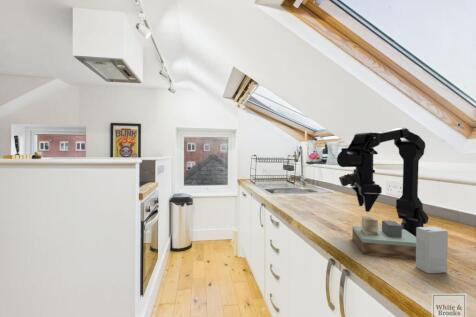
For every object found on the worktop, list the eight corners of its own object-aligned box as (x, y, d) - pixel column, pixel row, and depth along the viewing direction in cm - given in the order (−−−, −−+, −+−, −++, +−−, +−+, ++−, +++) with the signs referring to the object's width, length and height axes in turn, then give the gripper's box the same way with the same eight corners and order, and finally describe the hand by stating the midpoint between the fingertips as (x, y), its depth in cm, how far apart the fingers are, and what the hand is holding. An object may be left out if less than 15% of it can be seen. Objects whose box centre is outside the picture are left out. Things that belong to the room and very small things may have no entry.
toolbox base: (404, 243, 86) (404, 232, 86) (425, 259, 72) (425, 247, 72) (352, 239, 90) (352, 228, 90) (362, 254, 77) (363, 242, 77)
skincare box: (433, 265, 69) (433, 225, 68) (448, 273, 64) (449, 230, 64) (414, 266, 68) (414, 226, 68) (428, 274, 64) (428, 231, 63)
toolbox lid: (404, 232, 86) (404, 218, 86) (425, 247, 72) (425, 231, 72) (352, 228, 90) (352, 215, 90) (363, 242, 77) (363, 226, 76)
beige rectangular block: (373, 238, 84) (373, 216, 84) (377, 242, 80) (377, 219, 80) (361, 237, 85) (361, 216, 85) (364, 241, 81) (365, 219, 81)
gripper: (337, 165, 96) (336, 202, 96) (345, 167, 78) (345, 213, 78) (366, 165, 93) (366, 203, 93) (382, 168, 75) (381, 215, 75)
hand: (363, 208), depth 85 cm, fingers open, 9 cm apart
